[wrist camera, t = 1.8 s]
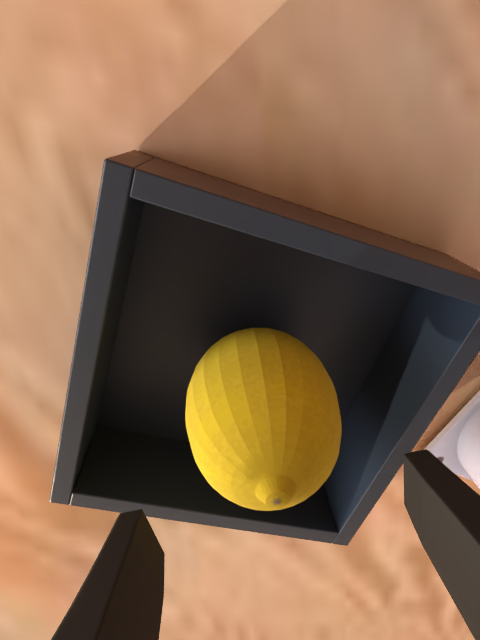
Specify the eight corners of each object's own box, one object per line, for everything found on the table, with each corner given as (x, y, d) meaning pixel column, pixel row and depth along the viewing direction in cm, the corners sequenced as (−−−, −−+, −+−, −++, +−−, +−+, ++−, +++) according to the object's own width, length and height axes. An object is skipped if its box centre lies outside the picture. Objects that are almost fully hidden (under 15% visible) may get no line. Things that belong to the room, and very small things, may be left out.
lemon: (208, 283, 16) (207, 405, 9) (328, 314, 17) (413, 447, 10) (177, 387, 18) (157, 552, 11) (285, 409, 19) (329, 573, 12)
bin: (446, 254, 17) (519, 292, 13) (322, 472, 22) (347, 546, 18) (133, 149, 14) (104, 157, 10) (81, 427, 20) (48, 502, 16)
